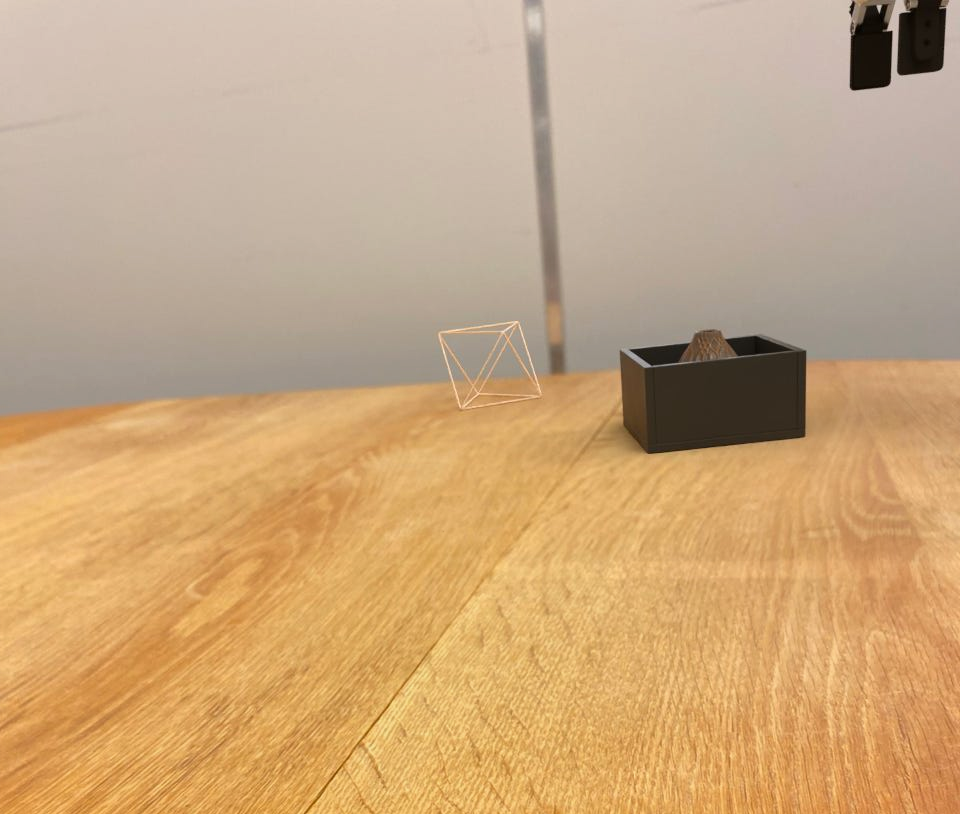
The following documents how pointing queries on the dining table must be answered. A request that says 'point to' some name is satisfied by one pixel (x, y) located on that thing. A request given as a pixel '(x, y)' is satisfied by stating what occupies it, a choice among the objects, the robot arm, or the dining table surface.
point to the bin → (714, 395)
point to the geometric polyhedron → (486, 363)
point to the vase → (707, 347)
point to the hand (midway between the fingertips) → (893, 81)
